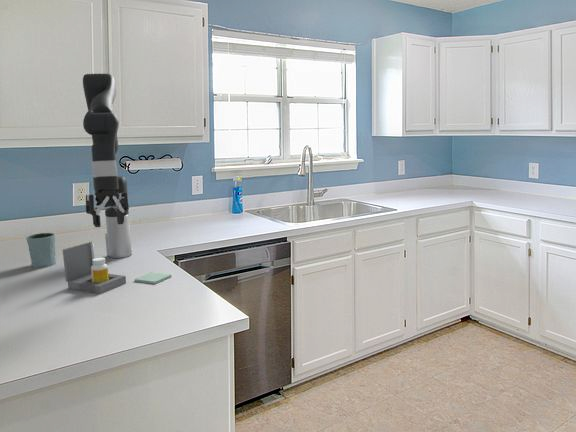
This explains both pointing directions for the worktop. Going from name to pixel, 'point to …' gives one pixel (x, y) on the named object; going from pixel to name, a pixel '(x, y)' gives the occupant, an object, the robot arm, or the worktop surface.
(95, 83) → the robot arm
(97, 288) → the case
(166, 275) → the pad
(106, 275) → the supplement bottle
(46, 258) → the teal cup
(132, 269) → the worktop surface
